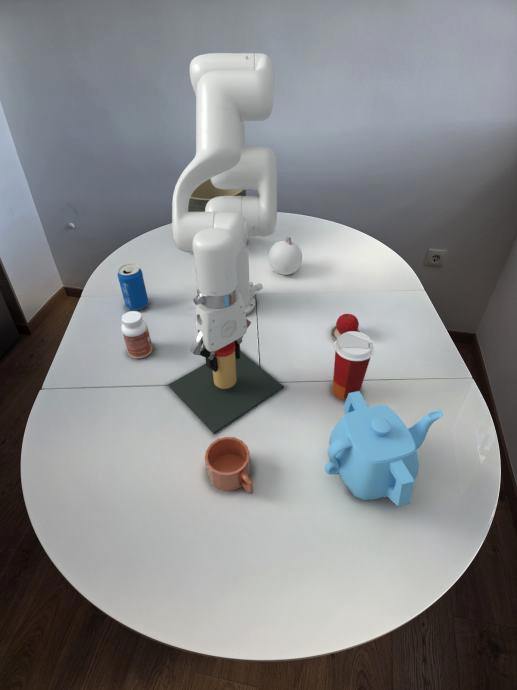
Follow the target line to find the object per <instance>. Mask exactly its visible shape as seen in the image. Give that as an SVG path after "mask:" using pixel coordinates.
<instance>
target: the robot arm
mask: <svg viewBox="0 0 517 690" xmlns="http://www.w3.org/2000/svg"><path fill="white" fill-rule="evenodd" d="M274 73H275V72H274V66H273V62H272V59H271V58H270V56H269V55H267V54H265V53H261V52H210V53H204V54H200V55H197V56H195V57H194V58H192V59H191V61H190V64H189V78H190V83H191V86H192V89H193V92H194V96H195V98H196V99H195V156H194V158H193V159H192V160H191V161H190V162H189V163H188V164H187V166H185V168H184V169H183V171H182V172H181V174H180V176H179V177H178V179H177V181H176V184H175V186H174V190H173V192H172V193H173V194H172V201H171V206H172V207H171V209H172V210H171V231H172V238H173V242H174V245H175V246H176V248H177V249H178V250H179V251H182V252H184V253H192V252H193V253H192V254H193V262H194V263H193V264H194V270H195V277H196V279H195V280H196V285H197V291H196V293H197V295H196V297H194V298H193V303H194V304H195V315H194V317H195V318H194V320H195V324H194V325H195V336H196V337H195V339H194V341H193V343H192V345H191V347H190V349H189V352H191V354H193V355H194V356H201V357H203V358H205V359H204V360H205V364H206V365H207V367H208V368H209V369H210V368H211V369H212V370H213V371H214V372H217V371H218V365H217V358H216V357H215V356H214V355H215V351H217V350H219V349H221V348H222V347H224V346H226V345H228V344H230V343H232V342H233V341H234V342H235V358H236V359H239V358H240V351H241V344H242V342H243V338H244V336H245V335H246V334H247V332H248V329H249V327H250V325H252V321H250V320H249V319H248V318H247V315H249V314H251V312H253V310H254V309H255V307H256V298H255V296H254V295H255V294H256V293H257V292H259V291H261V290H263V288H264V287H263V284H262V283H261V282H259V283H257V284H255V285H254V282H252V281H250V254H249V253H250V252H249V247H248V245H247V242H248V240H249V237H268V236H271V235H273V234H274V233H275V232H276V228H277V223H278V163H277V158H276V154H275V152H274V151H273V149H271V148H270V147H268V146H262V145H261V146H260V145H259V146H258V145H256V146H255V145H254V146H253V145H252V146H251V145H246V141H245V139H246V138H245V134H246V133H245V132H246V131H245V130H246V129H245V128H246V127H245V122H262V121H266V120H268V119H269V118H270V117H271V114H272V111H273V107H274V99H275V81H274V80H275V74H274ZM209 179H211V182H212V184H213V185H214V187H216V188H219V189H224V190H246V191H255V192H257V194H258V195H246V196H219V197H215V198H213V199H211V200H210V201H209V202H208V203H207V205H206V208H205V212H188V205H189V200H190V197H191V195H192V193H193V192H194V190H195V189H196V188H197V187H198V186H200V185H201V184H202V183H204V182H205V181H207V180H209Z"/></svg>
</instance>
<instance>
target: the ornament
mask: <svg viewBox="0 0 517 690" xmlns="http://www.w3.org/2000/svg"><path fill="white" fill-rule="evenodd" d="M267 258H268V259H267V260H268V264H269V266H270V268H271V269H272V270H273V271H274V272H275V273H276V274H278V275H282V276H289V275H291V274H294V273H295V272H297V270H299V268H300V267H301V265H302V261H303V252H302V249H301V248H300V246H299V245H298V244H297V243H296V242H294V241H292V238H291V236H286V238H285V240H284V239H283V240H279V241H277V242H276V243H274V244H273V245H272V246H271V248H270V250H269V252H268V257H267Z"/></svg>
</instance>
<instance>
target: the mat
mask: <svg viewBox="0 0 517 690" xmlns="http://www.w3.org/2000/svg"><path fill="white" fill-rule="evenodd" d="M235 359H236V358H235ZM236 378H237V381H236V383H235V385H234V386H232V387H231V388H227V389H222V388H219V387H217V386H216V385H215V384H214V378H213V370H212V369H211V368H210V369H209V368H208V367H207V365H206V363H204V364H203V365H201V366H199V367H197V368H195V369H194V370H191V371H190V372H188V373H186V374H185V375H183V376H181V377H179V378H178V379H175V380H174V381H172V382H170V383H168V385H167V386H168V387H169V388H170V389H171V390H172V391H173V393H174V394H175V395H176V396H177V397H178V398H179V399H180V400H181V402H183V403H184V404H185V405H186V406H187V408H189V410H190V411H191V412H192V413H193V414H194V415H195V416H196V417H197V418H198V419H199V420H200V421H201V422H202V423H203V424H204V425H205V426H206V427H207V429H208V430H209V431H210V432H211V433H212V434H213V435H214V434H216V433H218V432H219V431H221V430H222V429H224V428H225V427H227V426H228V425H230V424H231V423H233V422H235V421H236V420H237V419H239V418H241V417H243V416H244V415H245V414H246V413H248V412H250V411H252V409H254V408H255V407H257V406H258V405H261V403H263V402H264V401H266V400H267V399H269V398H271V397H272V396H274V395H275V394H277V393H278V392H280V391H281V390H283V389H284V388H285V386H284V385H283V384H282V383H280V382H279V381H278V380H277V379H275V378H274V377H273V376H272V375H270V373H268V372H267V371H266V370H265V369H264V368H263V367H261V366H260V365H258V364H257V362H255V361H254V360H252V359H251V358H250V357H249V356H247V355H246V354H245V353H244V352H243V351H241V350H240V358H239V359H236Z"/></svg>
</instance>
